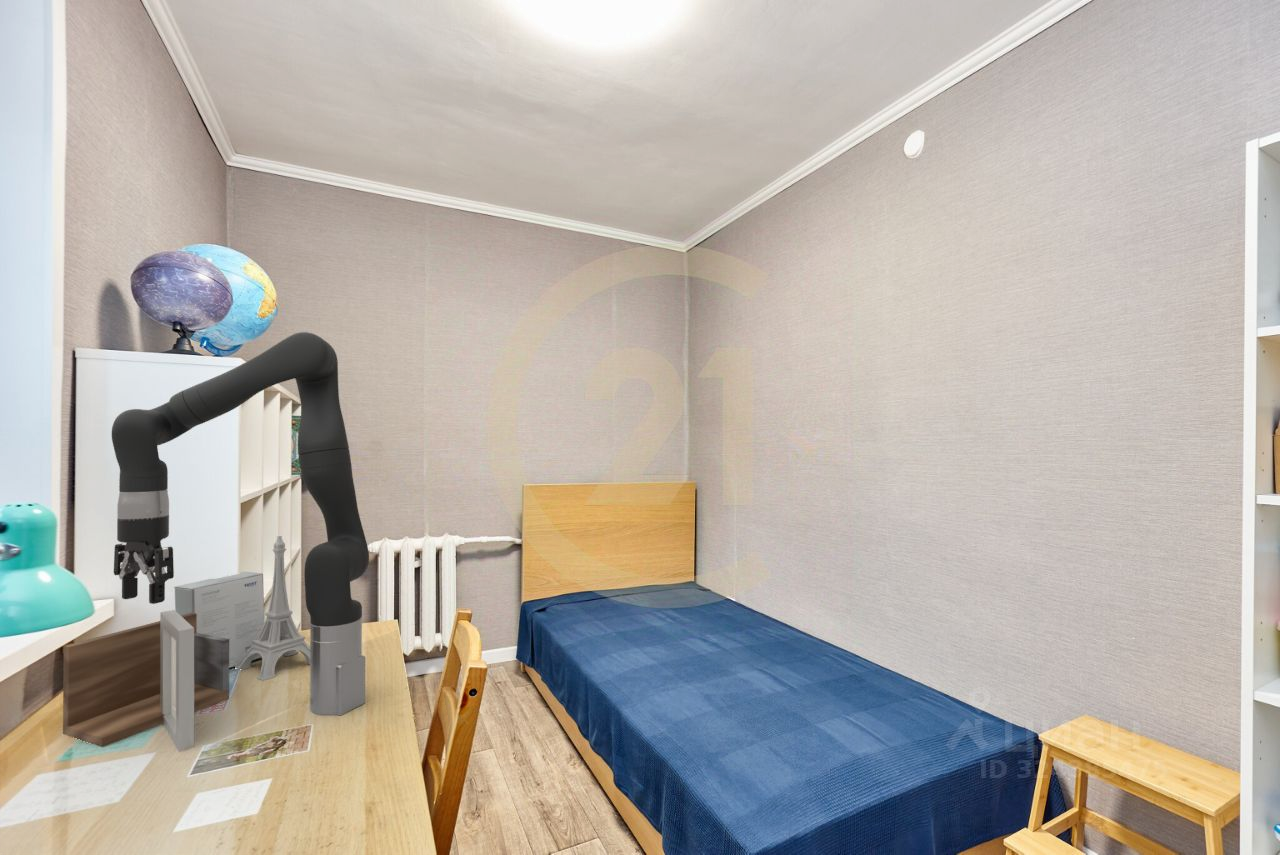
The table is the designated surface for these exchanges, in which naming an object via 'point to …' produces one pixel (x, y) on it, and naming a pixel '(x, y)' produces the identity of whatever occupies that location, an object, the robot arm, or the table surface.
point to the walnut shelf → (132, 682)
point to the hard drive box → (226, 609)
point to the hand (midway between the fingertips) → (143, 600)
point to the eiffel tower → (276, 626)
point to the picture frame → (177, 678)
